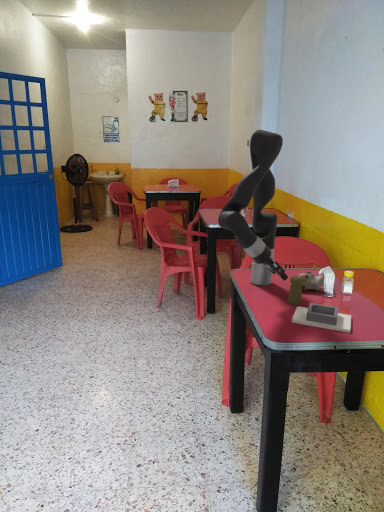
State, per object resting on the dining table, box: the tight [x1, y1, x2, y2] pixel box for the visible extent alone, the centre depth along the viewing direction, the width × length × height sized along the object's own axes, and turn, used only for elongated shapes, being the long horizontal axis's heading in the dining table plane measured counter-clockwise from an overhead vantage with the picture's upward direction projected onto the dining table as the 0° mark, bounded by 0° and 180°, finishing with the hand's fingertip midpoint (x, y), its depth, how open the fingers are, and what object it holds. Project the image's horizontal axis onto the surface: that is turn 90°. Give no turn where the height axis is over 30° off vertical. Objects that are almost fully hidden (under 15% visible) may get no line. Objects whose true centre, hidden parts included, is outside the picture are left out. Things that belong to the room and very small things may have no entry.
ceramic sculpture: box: [289, 271, 325, 292], centre depth 178 cm, size 11×9×15 cm
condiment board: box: [291, 302, 352, 334], centre depth 147 cm, size 20×14×4 cm
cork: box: [286, 275, 303, 306], centre depth 162 cm, size 6×6×11 cm
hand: (280, 275), depth 158 cm, fingers open, 8 cm apart
